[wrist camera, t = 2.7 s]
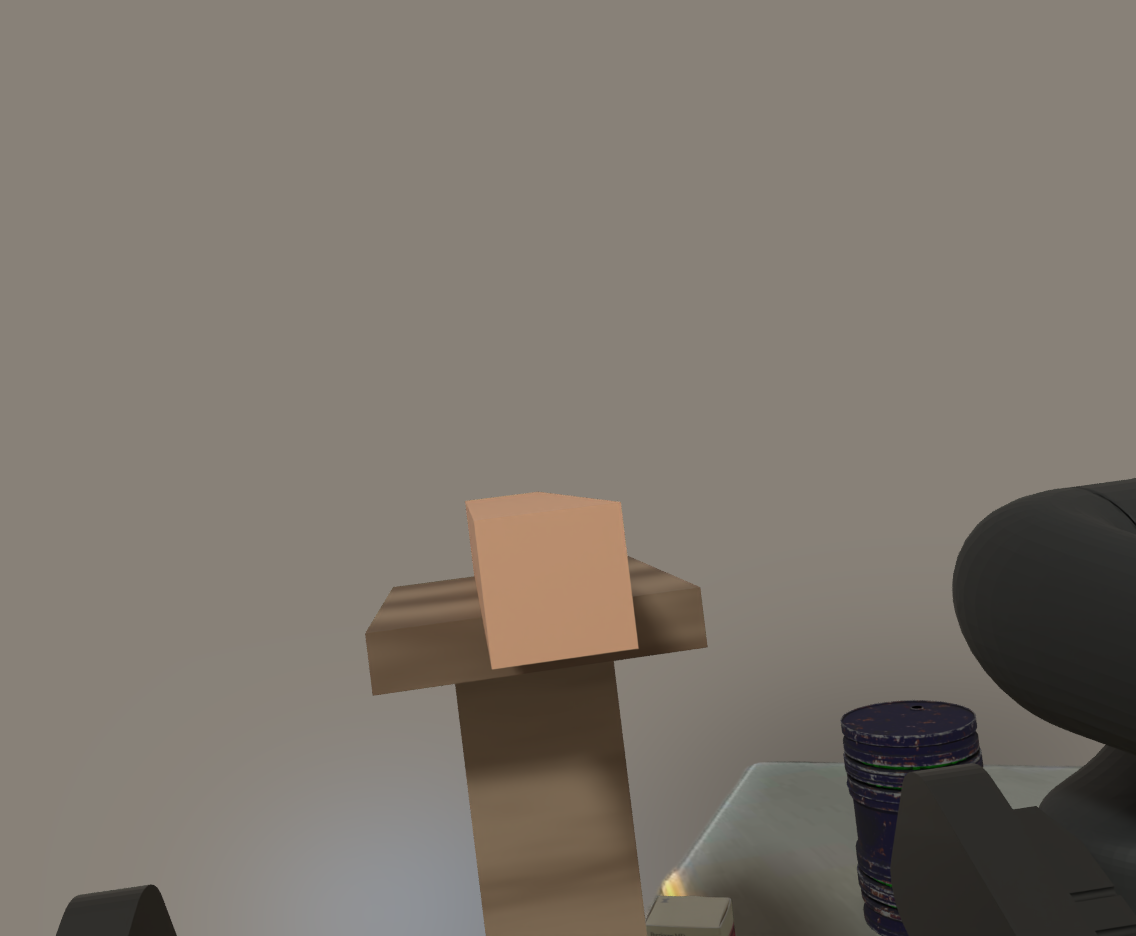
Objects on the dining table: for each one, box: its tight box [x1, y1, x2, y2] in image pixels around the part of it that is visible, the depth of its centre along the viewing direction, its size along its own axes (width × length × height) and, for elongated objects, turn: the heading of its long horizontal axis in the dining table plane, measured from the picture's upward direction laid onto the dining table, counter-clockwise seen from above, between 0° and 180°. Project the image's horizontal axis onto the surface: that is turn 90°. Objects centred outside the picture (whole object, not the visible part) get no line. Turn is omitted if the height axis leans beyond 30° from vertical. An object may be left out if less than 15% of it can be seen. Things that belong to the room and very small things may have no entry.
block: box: [465, 492, 638, 669], centre depth 35 cm, size 24×4×4 cm, turn 6°
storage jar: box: [841, 700, 983, 936], centre depth 74 cm, size 10×10×15 cm
